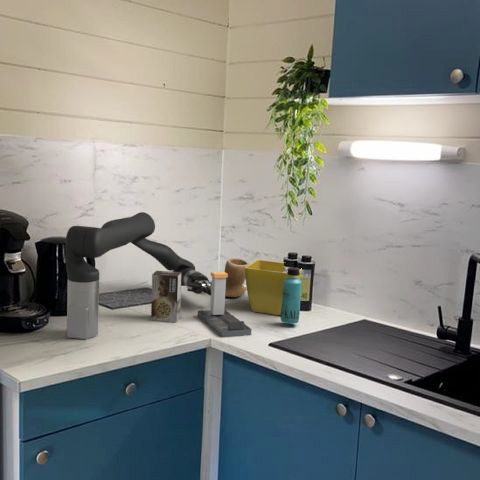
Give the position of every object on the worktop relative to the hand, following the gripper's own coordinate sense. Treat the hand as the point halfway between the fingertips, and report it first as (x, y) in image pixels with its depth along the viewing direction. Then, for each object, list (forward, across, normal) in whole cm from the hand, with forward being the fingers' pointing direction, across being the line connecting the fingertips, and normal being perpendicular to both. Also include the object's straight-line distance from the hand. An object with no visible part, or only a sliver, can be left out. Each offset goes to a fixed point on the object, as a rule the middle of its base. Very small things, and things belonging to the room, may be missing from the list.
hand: (212, 292), depth 212 cm
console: (+12, 0, +8) cm, 14 cm away
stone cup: (-26, +20, +8) cm, 34 cm away
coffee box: (+1, -17, +9) cm, 19 cm away
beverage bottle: (+17, +23, +9) cm, 29 cm away
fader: (+6, 0, +6) cm, 8 cm away
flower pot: (-2, +26, +9) cm, 27 cm away
